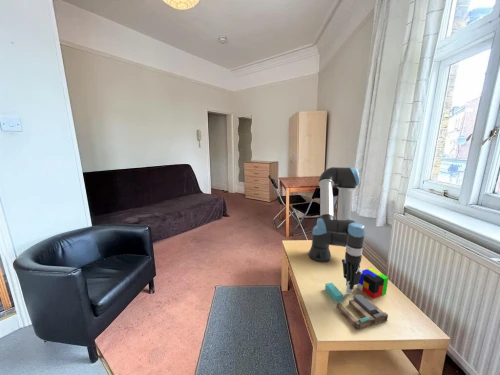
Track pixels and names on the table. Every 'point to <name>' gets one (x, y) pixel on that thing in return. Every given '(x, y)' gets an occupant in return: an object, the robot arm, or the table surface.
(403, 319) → the table surface
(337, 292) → the teal block
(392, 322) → the table surface
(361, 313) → the comb rack
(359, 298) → the grey block
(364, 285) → the puzzle toy
